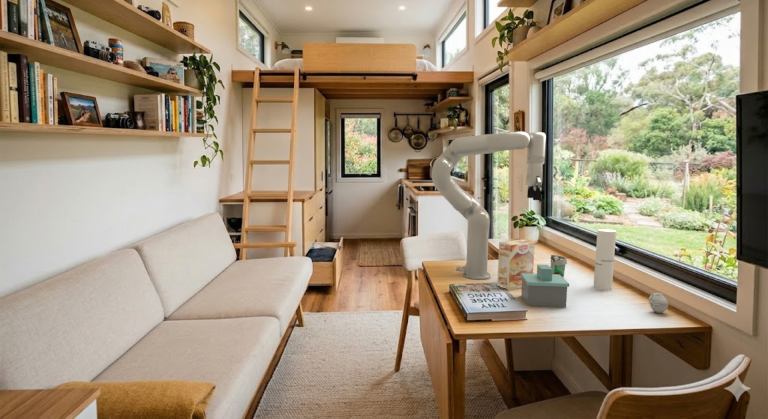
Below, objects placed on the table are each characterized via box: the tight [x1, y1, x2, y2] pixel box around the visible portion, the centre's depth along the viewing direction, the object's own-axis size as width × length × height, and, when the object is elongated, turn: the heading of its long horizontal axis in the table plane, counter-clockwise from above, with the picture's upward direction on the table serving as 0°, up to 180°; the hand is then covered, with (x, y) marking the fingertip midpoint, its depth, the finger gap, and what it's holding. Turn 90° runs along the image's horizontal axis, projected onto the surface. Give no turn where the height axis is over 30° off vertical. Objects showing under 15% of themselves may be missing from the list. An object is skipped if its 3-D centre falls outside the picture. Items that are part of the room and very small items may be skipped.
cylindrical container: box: [593, 228, 617, 292], centre depth 196 cm, size 7×7×25 cm
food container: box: [550, 254, 568, 279], centre depth 210 cm, size 12×6×10 cm, turn 168°
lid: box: [521, 264, 570, 288], centre depth 178 cm, size 15×13×7 cm
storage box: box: [521, 278, 568, 308], centre depth 178 cm, size 14×12×8 cm
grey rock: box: [648, 292, 670, 314], centre depth 168 cm, size 6×7×7 cm
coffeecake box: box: [496, 238, 536, 291], centre depth 198 cm, size 15×7×20 cm, turn 122°
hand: (533, 198), depth 207 cm, fingers open, 9 cm apart
